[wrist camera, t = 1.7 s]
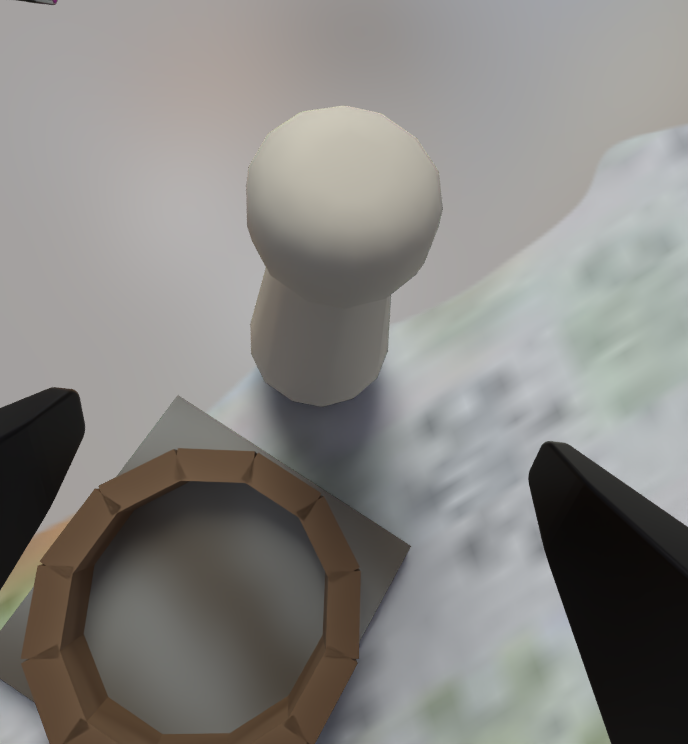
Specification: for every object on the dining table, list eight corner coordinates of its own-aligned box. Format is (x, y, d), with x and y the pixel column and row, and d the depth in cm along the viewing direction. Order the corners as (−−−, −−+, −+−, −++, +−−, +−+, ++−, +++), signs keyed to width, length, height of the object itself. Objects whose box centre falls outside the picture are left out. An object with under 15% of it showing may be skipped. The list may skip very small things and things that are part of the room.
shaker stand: (249, 832, 17) (242, 894, 14) (-9, 654, 17) (-61, 683, 15) (406, 543, 20) (422, 552, 17) (182, 398, 20) (166, 386, 18)
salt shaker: (271, 428, 20) (232, 340, 8) (242, 312, 22) (168, 73, 9) (393, 395, 21) (533, 270, 9) (359, 285, 23) (439, 36, 10)
